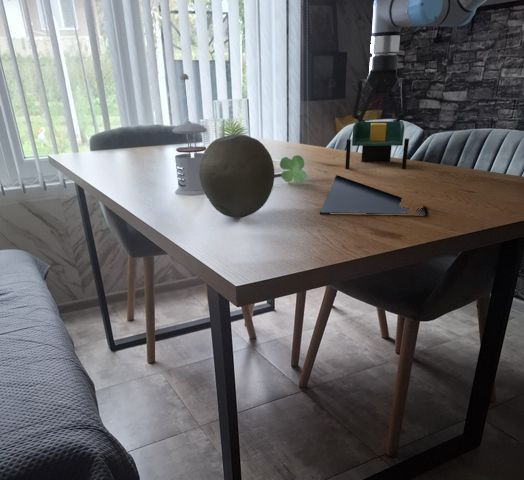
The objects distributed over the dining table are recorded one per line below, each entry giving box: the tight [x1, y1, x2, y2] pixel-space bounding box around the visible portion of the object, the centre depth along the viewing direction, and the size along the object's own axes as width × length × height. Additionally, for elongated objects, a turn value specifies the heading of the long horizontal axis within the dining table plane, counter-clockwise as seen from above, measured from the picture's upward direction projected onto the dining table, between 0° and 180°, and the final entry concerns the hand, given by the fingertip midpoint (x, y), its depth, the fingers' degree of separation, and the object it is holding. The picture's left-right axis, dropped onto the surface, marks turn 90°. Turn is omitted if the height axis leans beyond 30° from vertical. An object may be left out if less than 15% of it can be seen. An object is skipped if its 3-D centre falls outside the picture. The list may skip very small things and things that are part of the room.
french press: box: [171, 73, 208, 196], centre depth 113 cm, size 10×12×25 cm
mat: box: [319, 174, 427, 216], centre depth 110 cm, size 40×20×1 cm, turn 168°
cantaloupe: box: [199, 133, 275, 219], centre depth 90 cm, size 14×14×15 cm
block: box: [370, 123, 386, 141], centre depth 130 cm, size 4×4×4 cm
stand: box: [344, 137, 410, 170], centre depth 132 cm, size 14×16×9 cm
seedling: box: [279, 154, 308, 183], centre depth 127 cm, size 7×8×7 cm
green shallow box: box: [351, 120, 405, 147], centre depth 133 cm, size 22×13×5 cm, turn 168°
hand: (377, 144), depth 144 cm, fingers closed on green shallow box, 8 cm apart
